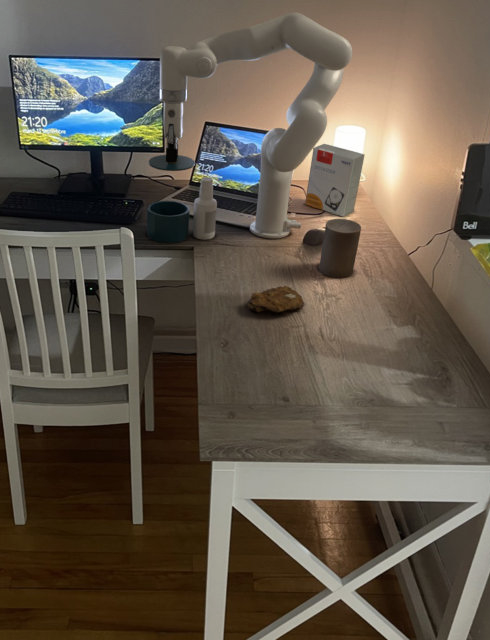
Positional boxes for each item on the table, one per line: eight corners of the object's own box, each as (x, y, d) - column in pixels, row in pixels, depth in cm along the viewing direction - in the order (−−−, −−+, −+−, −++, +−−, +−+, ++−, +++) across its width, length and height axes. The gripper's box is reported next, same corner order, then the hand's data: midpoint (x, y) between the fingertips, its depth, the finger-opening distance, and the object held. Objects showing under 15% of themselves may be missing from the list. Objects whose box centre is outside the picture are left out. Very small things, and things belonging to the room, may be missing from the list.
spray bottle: (214, 240, 207) (218, 183, 197) (192, 239, 207) (195, 182, 197) (214, 231, 213) (218, 175, 203) (192, 230, 213) (195, 174, 203)
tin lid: (195, 159, 205) (196, 139, 202) (193, 174, 194) (194, 153, 191) (151, 157, 206) (151, 137, 203) (146, 171, 195) (146, 150, 191)
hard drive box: (303, 205, 235) (312, 147, 224) (315, 199, 239) (323, 142, 229) (343, 217, 226) (354, 158, 215) (355, 211, 231) (365, 153, 220)
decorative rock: (264, 326, 166) (310, 313, 173) (267, 312, 164) (313, 299, 171) (237, 303, 174) (282, 291, 181) (239, 289, 171) (285, 278, 179)
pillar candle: (359, 270, 193) (369, 221, 185) (341, 281, 187) (350, 231, 179) (330, 259, 198) (338, 211, 190) (311, 269, 192) (319, 220, 184)
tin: (189, 227, 215) (190, 202, 210) (186, 244, 204) (187, 217, 199) (150, 225, 215) (150, 199, 211) (145, 241, 205) (145, 214, 200)
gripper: (184, 102, 182) (182, 169, 192) (188, 88, 196) (186, 152, 206) (156, 101, 183) (156, 168, 192) (162, 87, 196) (161, 150, 206)
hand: (171, 159), depth 199 cm, fingers closed on tin lid, 3 cm apart
